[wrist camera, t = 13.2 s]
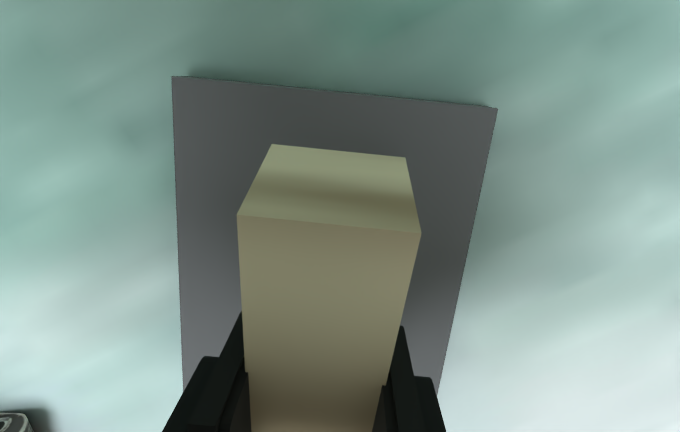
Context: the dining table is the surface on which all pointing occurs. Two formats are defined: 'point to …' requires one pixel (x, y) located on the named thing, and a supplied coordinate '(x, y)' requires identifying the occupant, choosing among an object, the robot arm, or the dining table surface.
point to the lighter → (14, 423)
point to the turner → (323, 285)
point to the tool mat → (331, 134)
